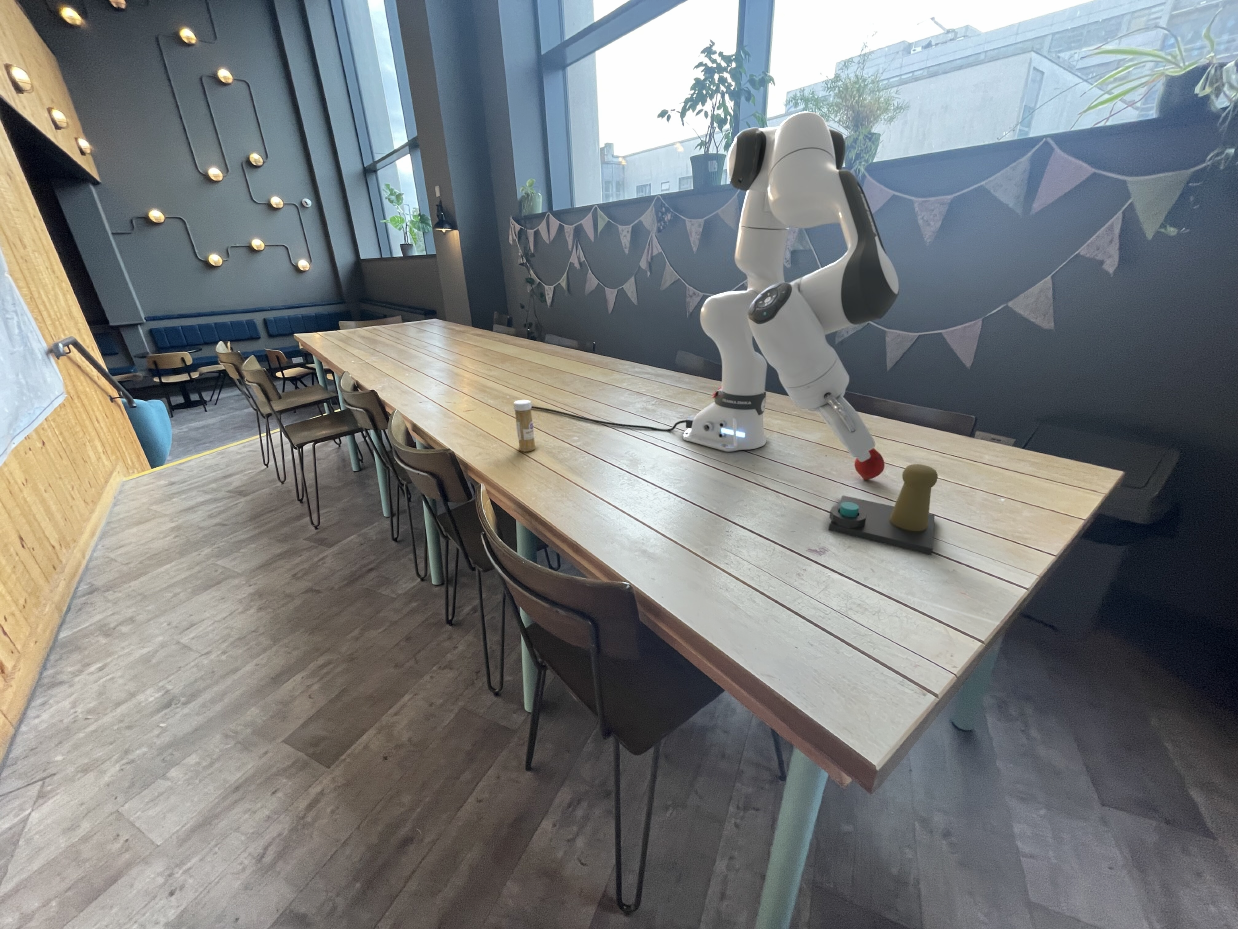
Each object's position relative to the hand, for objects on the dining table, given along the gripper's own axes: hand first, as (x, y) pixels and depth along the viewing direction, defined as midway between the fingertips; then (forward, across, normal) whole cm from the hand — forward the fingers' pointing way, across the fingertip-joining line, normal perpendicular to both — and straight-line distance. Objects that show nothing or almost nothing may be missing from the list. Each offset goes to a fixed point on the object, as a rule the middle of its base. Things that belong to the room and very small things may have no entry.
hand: (852, 443), depth 79 cm
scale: (+19, -1, +3) cm, 20 cm away
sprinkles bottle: (-19, +42, +67) cm, 81 cm away
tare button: (+13, -1, +7) cm, 15 cm away
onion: (+26, +18, 0) cm, 31 cm away
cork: (+20, -2, -1) cm, 21 cm away
